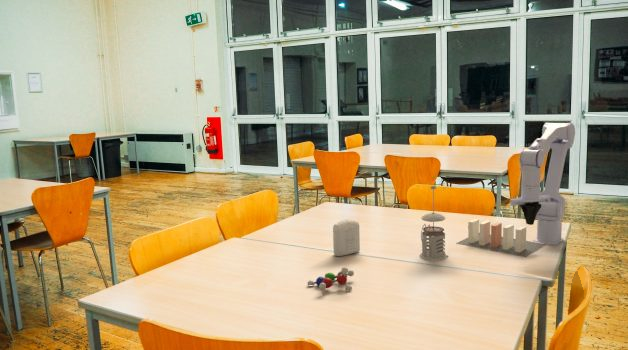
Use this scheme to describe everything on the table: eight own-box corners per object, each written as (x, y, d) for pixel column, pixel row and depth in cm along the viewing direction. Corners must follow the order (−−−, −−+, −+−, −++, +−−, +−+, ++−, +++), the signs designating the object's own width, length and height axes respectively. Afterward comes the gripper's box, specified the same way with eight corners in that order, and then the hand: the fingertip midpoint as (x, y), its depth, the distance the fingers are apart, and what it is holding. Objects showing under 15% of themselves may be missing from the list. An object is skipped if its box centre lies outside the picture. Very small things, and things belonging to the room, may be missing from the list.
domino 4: (521, 248, 180) (521, 226, 179) (525, 248, 179) (526, 226, 178) (515, 251, 177) (515, 229, 175) (519, 252, 175) (520, 230, 174)
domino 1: (474, 239, 192) (474, 218, 191) (478, 240, 191) (478, 219, 190) (468, 242, 189) (468, 221, 187) (472, 243, 188) (472, 222, 186)
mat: (478, 233, 201) (478, 232, 201) (546, 245, 183) (546, 244, 183) (455, 244, 189) (455, 243, 189) (526, 258, 171) (526, 257, 170)
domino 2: (485, 241, 189) (486, 220, 188) (489, 242, 188) (490, 221, 187) (479, 244, 186) (479, 223, 184) (483, 245, 185) (483, 224, 183)
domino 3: (508, 245, 183) (509, 224, 182) (513, 246, 182) (513, 224, 181) (502, 249, 180) (503, 227, 178) (507, 250, 178) (507, 228, 177)
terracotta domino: (497, 243, 186) (497, 222, 185) (501, 244, 185) (501, 223, 184) (490, 246, 183) (491, 225, 181) (495, 247, 182) (495, 226, 180)
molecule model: (301, 300, 151) (340, 298, 144) (296, 276, 151) (334, 273, 144) (328, 285, 164) (365, 283, 156) (323, 263, 164) (360, 259, 156)
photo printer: (354, 249, 189) (353, 216, 187) (361, 251, 185) (360, 218, 183) (331, 254, 183) (330, 221, 181) (338, 257, 179) (337, 223, 177)
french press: (453, 255, 177) (453, 184, 173) (436, 264, 169) (436, 190, 165) (428, 250, 184) (428, 181, 180) (410, 258, 176) (410, 187, 172)
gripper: (540, 181, 178) (539, 219, 180) (504, 184, 174) (504, 223, 176) (555, 184, 171) (554, 223, 173) (518, 188, 167) (517, 228, 169)
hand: (529, 224), depth 174 cm, fingers closed
